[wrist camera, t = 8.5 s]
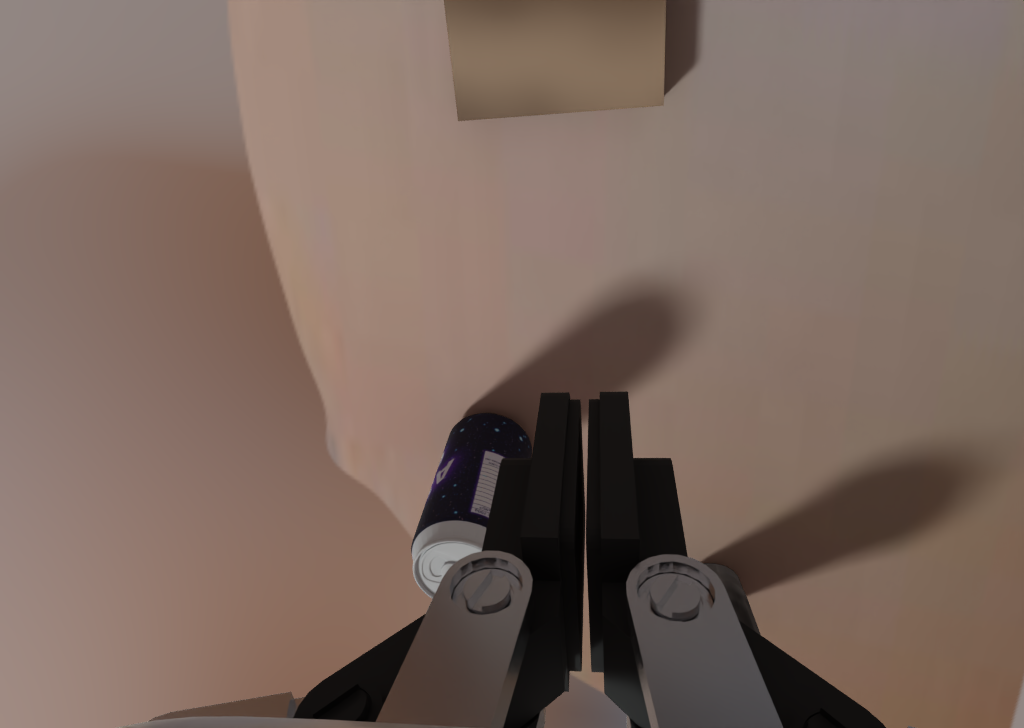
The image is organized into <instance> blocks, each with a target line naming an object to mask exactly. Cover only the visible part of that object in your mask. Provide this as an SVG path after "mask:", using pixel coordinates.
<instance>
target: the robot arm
mask: <svg viewBox="0 0 1024 728" xmlns="http://www.w3.org/2000/svg"><path fill="white" fill-rule="evenodd" d="M584 549H585V496H584V473H583V449H582V425H581V403H580V400H570V394H569V392H567V393H541V399H540V406H539V413H538V420H537V426H536V433H535V440H534V447H533V454H532V458H503V459H502V460H501V463H500V467H499V472H498V476H497V481H496V486H495V491H494V495H493V500H492V505H491V509H490V514H489V519H488V523H487V528H486V533H485V537H484V542H483V547H482V552H477V553H472V554H470V555H468V556H466V557H464V558H462V559H459V560H458V561H457V562H456V563H455V564H453V565H452V566H451V567H450V568H449V569H448V571H447V572H446V574H445V575H444V577H443V578H442V580H441V582H440V584H439V587H438V589H437V591H436V593H435V595H434V597H433V599H432V602H431V604H430V606H429V608H428V610H427V612H426V614H425V615H423V616H421V617H420V618H418V619H417V620H415V621H414V622H412V623H411V624H409V625H408V626H406V627H405V628H403V629H402V630H400V631H399V632H397V633H395V634H394V635H392V636H391V637H389V638H388V639H386V640H385V641H383V642H382V643H380V644H378V645H377V646H375V647H374V648H372V649H371V650H370V651H368V652H366V653H365V654H363V655H362V656H360V657H359V658H357V659H356V660H354V661H352V662H351V663H349V664H348V665H346V666H345V667H343V668H342V669H340V670H339V671H337V672H335V673H334V674H333V675H331V676H329V677H328V678H326V679H325V680H323V681H322V682H321V683H319V684H318V685H317V686H316V687H314V688H313V689H312V690H311V691H310V692H309V693H308V694H307V695H306V697H302V698H296V699H294V698H293V695H292V693H291V692H288V693H281V694H275V695H270V696H264V697H258V698H252V699H246V700H240V701H234V702H229V703H222V704H216V705H211V706H205V707H199V708H193V709H187V710H182V711H176V712H170V713H167V714H164V715H161V716H158V717H155V718H153V719H151V720H150V721H148V722H144V723H139V724H134V725H128V726H123V727H118V728H544V724H545V713H546V710H545V707H546V706H548V705H549V704H550V703H551V702H552V701H554V700H555V699H556V698H557V697H558V696H560V695H561V694H562V693H563V692H564V691H569V671H581V669H582V633H583V591H584ZM586 551H587V576H588V599H589V623H590V646H591V669H592V672H604V692H605V694H606V695H607V696H608V697H609V698H610V699H611V700H612V701H613V702H614V703H615V704H616V705H617V706H618V707H619V708H620V709H621V710H622V711H623V712H624V713H626V714H627V728H886V727H885V726H884V725H883V723H881V722H880V721H879V720H878V719H877V718H876V717H875V716H873V715H872V714H871V713H870V712H869V711H868V710H866V709H865V708H864V707H862V706H861V705H859V704H858V703H856V702H855V701H854V700H852V699H851V698H849V697H848V696H847V695H845V694H844V693H842V692H841V691H839V690H838V689H837V688H835V687H834V686H832V685H831V684H829V683H828V682H827V681H825V680H824V679H822V678H821V677H819V676H818V675H817V674H815V673H814V672H812V671H811V670H809V669H808V668H807V667H805V666H804V665H802V664H801V663H799V662H798V661H797V660H795V659H794V658H792V657H791V656H789V655H788V654H787V653H785V652H784V651H782V650H781V649H779V648H778V647H777V646H775V645H774V644H772V643H771V642H769V641H768V640H767V639H765V638H764V637H762V636H761V635H759V634H758V633H757V632H755V631H754V630H752V629H751V628H749V627H748V626H747V625H745V624H744V623H742V622H741V621H739V620H738V618H737V615H736V613H735V611H734V608H733V606H732V603H731V601H730V599H729V596H728V594H727V591H726V589H725V587H724V585H723V583H722V582H721V580H720V578H719V577H718V575H717V574H716V573H715V572H714V571H712V570H711V569H710V568H709V567H708V566H707V565H705V564H703V563H701V562H699V561H697V560H695V559H693V558H689V557H688V556H687V550H686V544H685V538H684V532H683V526H682V520H681V514H680V508H679V502H678V495H677V489H676V483H675V477H674V471H673V465H672V460H671V459H670V458H633V450H632V437H631V425H630V412H629V399H628V392H600V399H589V419H588V466H587V512H586ZM907 728H914V727H911V726H908V727H907Z"/></svg>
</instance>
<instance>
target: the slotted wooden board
mask: <svg viewBox="0 0 1024 728" xmlns="http://www.w3.org/2000/svg"><path fill="white" fill-rule="evenodd" d="M444 5H445V14H446V22H447V30H448V39H449V47H450V56H451V64H452V72H453V81H454V89H455V98H456V106H457V114H458V121H465V120H478V119H492V118H505V117H518V116H531V115H544V114H558V113H571V112H584V111H597V110H611V109H624V108H637V107H650V106H663V105H664V69H665V26H666V0H444Z"/></svg>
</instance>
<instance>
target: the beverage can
mask: <svg viewBox="0 0 1024 728" xmlns="http://www.w3.org/2000/svg"><path fill="white" fill-rule="evenodd" d="M531 457H532V446H531V442H530V440H529V437H528V436H527V434H526V433H525V431H524V430H523V429H522V428H521V427H520V426H519V425H518V424H517V423H515V422H514V421H512V420H510V419H508V418H506V417H504V416H501V415H497V414H490V413H481V414H475V415H471V416H468V417H466V418H464V419H462V420H461V421H460V422H458V423H457V424H456V425H455V426H454V428H453V429H452V431H451V433H450V435H449V438H448V441H447V443H446V446H445V449H444V452H443V455H442V458H441V461H440V464H439V467H438V469H437V472H436V475H435V478H434V481H433V484H432V487H431V490H430V493H429V495H428V498H427V501H426V504H425V507H424V510H423V513H422V516H421V519H420V521H419V524H418V527H417V530H416V533H415V536H414V539H413V542H412V547H411V552H412V558H413V561H414V562H413V575H414V578H415V580H416V582H417V584H418V586H419V587H420V588H421V589H422V590H423V592H424V593H426V594H427V595H428V596H429V597H431V598H432V599H433V597H434V595H435V593H436V591H437V589H438V587H439V584H440V582H441V580H442V578H443V577H444V575H445V574H446V572H447V571H448V569H449V568H450V567H451V566H452V565H453V564H455V563H456V562H457V561H458V560H459V559H462V558H464V557H466V556H468V555H470V554H472V553H477V552H482V547H483V542H484V537H485V533H486V528H487V523H488V519H489V514H490V509H491V505H492V500H493V495H494V491H495V486H496V481H497V476H498V472H499V467H500V463H501V460H502V459H503V458H531Z"/></svg>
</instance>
